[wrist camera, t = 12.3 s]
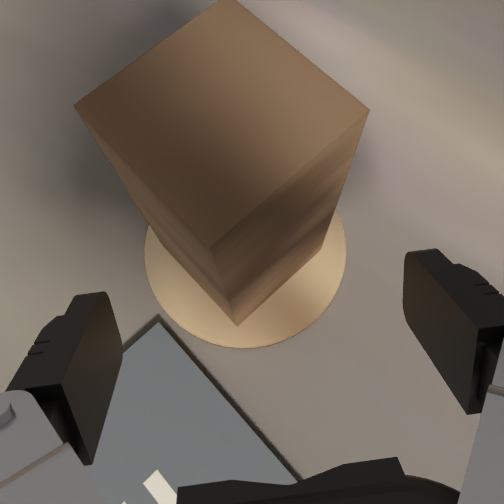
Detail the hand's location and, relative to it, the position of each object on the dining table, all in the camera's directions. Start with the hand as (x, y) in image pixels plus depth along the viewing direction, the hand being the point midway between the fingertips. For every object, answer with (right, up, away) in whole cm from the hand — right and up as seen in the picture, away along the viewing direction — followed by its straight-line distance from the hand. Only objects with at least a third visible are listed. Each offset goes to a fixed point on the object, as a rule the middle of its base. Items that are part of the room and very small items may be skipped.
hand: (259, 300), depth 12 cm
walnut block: (-1, +1, +8) cm, 8 cm away
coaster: (0, +1, +8) cm, 9 cm away
